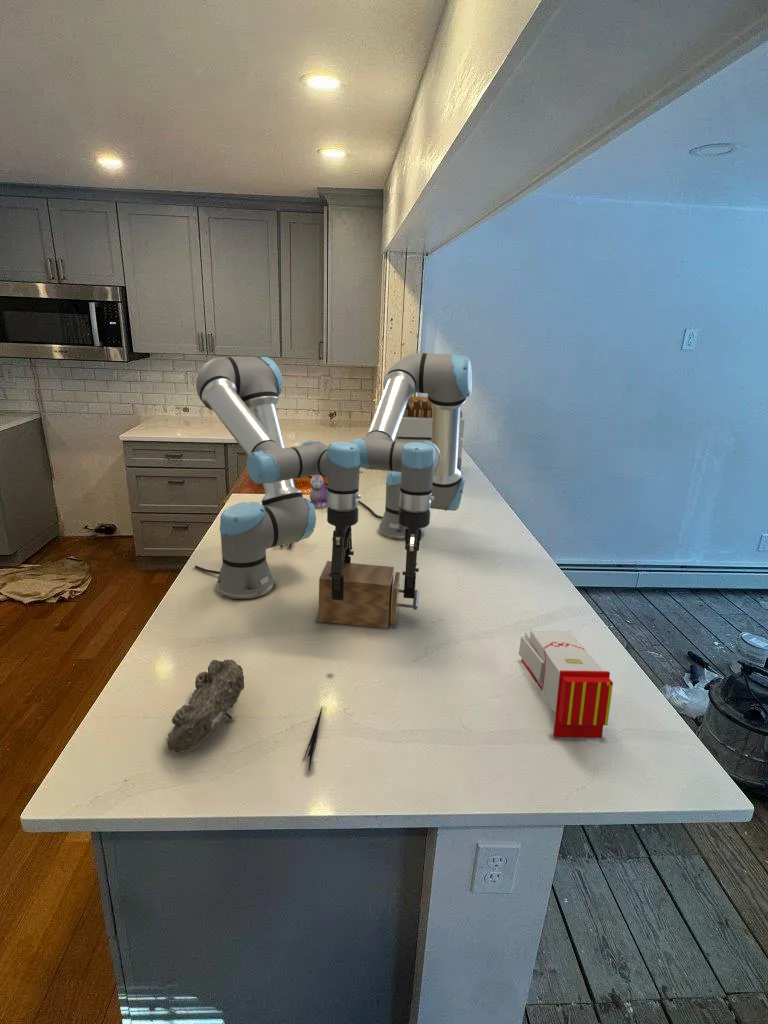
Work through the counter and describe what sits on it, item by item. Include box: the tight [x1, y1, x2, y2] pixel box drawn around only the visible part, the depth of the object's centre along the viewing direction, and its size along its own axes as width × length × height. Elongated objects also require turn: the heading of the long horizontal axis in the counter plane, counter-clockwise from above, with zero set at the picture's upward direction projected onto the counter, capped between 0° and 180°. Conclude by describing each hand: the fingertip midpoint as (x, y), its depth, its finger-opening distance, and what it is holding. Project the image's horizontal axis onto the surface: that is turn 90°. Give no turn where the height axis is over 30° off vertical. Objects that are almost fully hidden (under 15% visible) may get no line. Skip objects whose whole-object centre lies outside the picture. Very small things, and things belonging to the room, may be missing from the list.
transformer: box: [395, 395, 465, 472], centre depth 268 cm, size 34×33×41 cm
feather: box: [301, 673, 332, 771], centre depth 108 cm, size 2×28×2 cm
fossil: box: [166, 658, 245, 754], centre depth 106 cm, size 22×10×15 cm
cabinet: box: [318, 560, 395, 629], centre depth 144 cm, size 17×10×12 cm, turn 84°
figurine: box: [309, 475, 328, 509], centre depth 223 cm, size 9×10×15 cm
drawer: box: [389, 571, 420, 625], centre depth 144 cm, size 21×9×10 cm, turn 84°
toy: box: [518, 629, 614, 739], centre depth 118 cm, size 12×13×30 cm
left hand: (341, 588), depth 144 cm, fingers closed on cabinet, 10 cm apart
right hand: (409, 596), depth 143 cm, fingers closed
